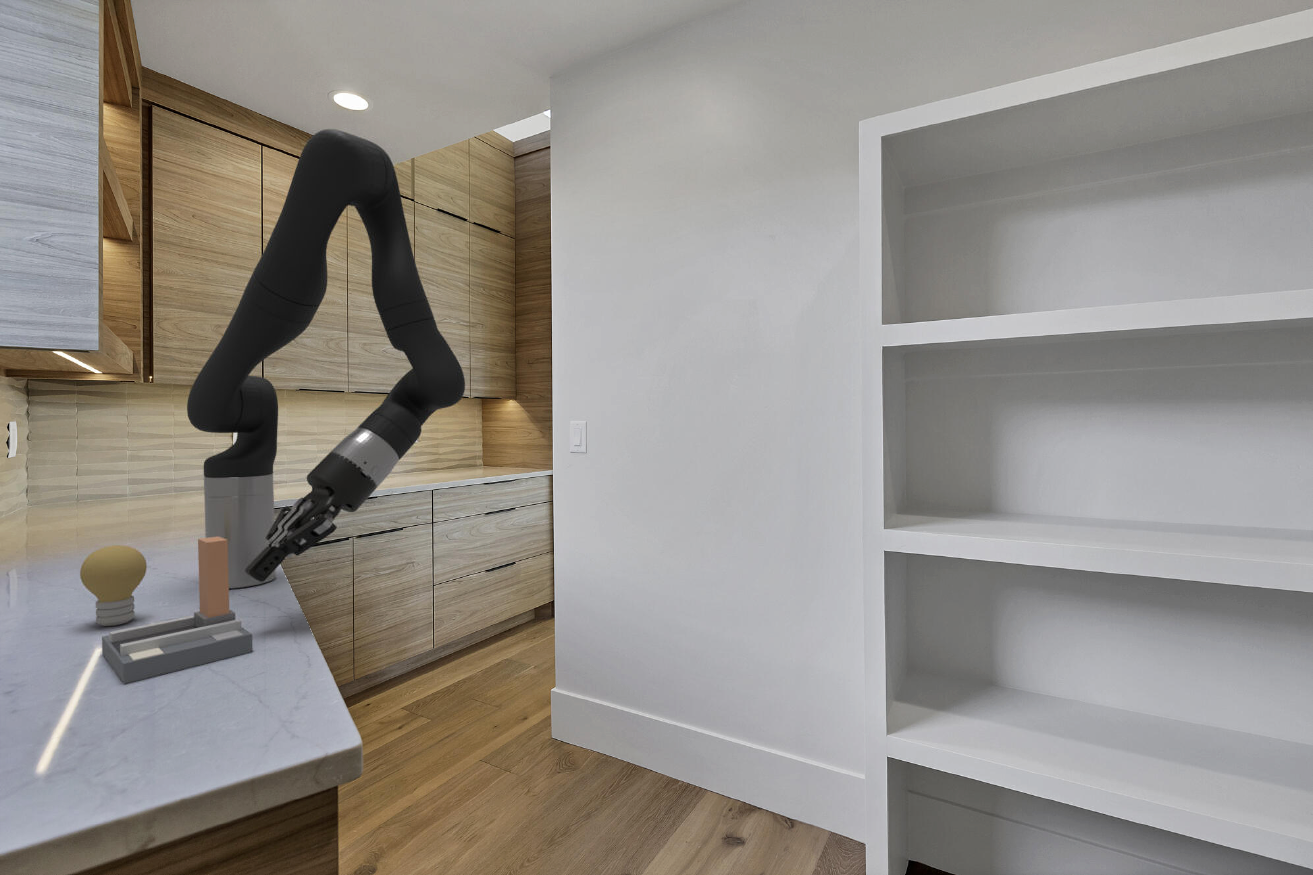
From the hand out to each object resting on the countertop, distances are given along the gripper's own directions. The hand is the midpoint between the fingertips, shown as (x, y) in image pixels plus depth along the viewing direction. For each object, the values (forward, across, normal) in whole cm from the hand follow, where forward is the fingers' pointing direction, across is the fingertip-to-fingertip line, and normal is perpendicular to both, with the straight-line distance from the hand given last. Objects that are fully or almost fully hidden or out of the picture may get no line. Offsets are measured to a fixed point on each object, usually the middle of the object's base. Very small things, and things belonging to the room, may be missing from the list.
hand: (252, 576), depth 74 cm
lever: (+6, 0, +1) cm, 6 cm away
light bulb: (+12, -19, -2) cm, 23 cm away
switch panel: (+10, 0, 0) cm, 10 cm away
